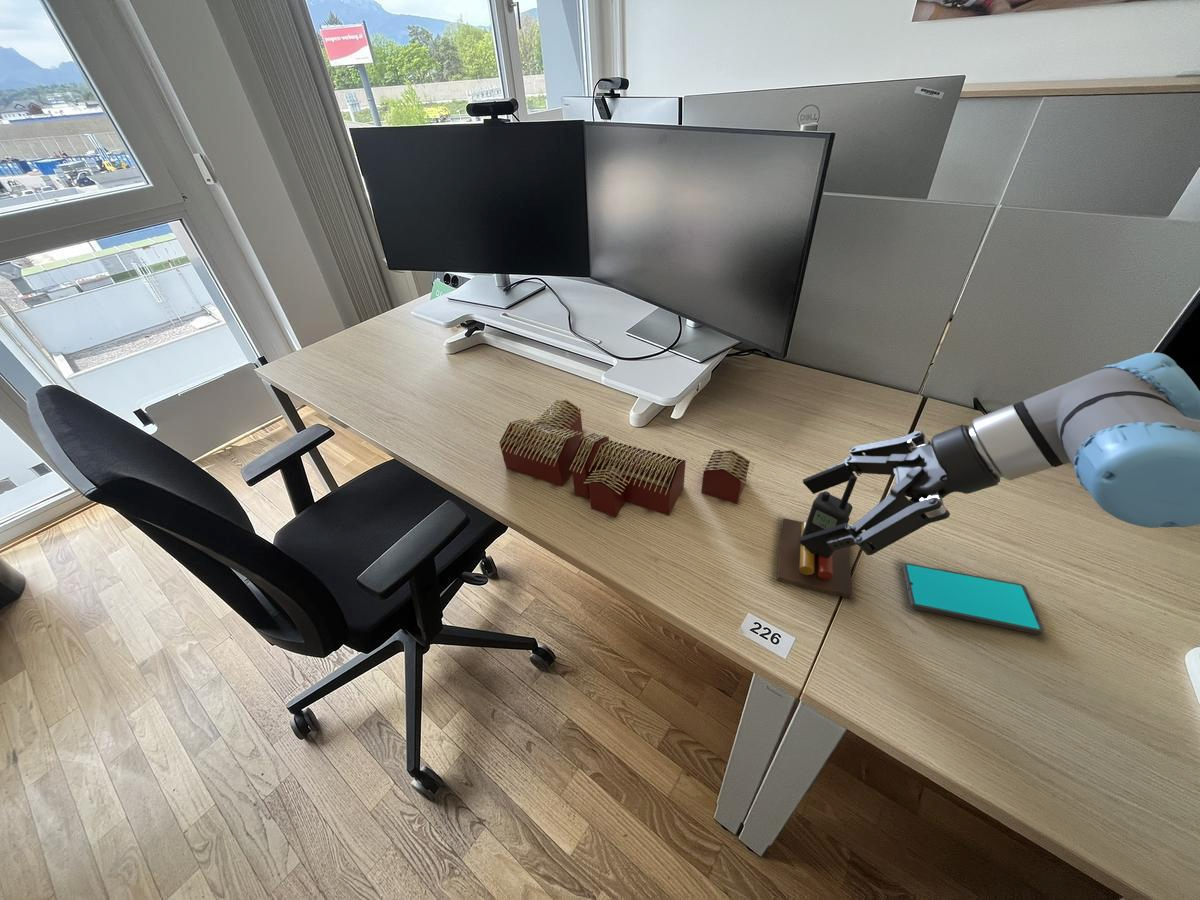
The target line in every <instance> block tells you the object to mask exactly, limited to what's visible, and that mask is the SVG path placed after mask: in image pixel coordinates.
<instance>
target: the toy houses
mask: <svg viewBox="0 0 1200 900" xmlns="http://www.w3.org/2000/svg"><path fill="white" fill-rule="evenodd" d="M549 403H550V404H547V406H545V409H542V411H541V412H540V414H537V416H536V417H534V418H535V419H533V418H531V419H530V418H529V417H528V418H525V419H524V418H521V419H518V420H514V421H510V422H509V424H508V426H507V428H506V429H505V431H504V433H503V435H502V437H501V439H500V441H499V446H498V448H497V450H500V451H501V455H502V458H503V462H504V465H505V469H506V470H510V471H512V472H515V473H519V474H521V475H525V476H527V477H531V478H534V479H537V480H539V481H542V482H545V483H549V484H552V485H556V486H558V487H561V488H563V487H564V486H565V485H566V483H567V482H568V481H569V479H570V478H571V477H572V482H573V490H574V495H575V496H576V497H579V498H582V499H585V500H589V504H590V510H592V511H593V510H594V511H596V512H599V513H602V514H605V515H608V516H611V517H614V518H616V517H617V516H618V514H619V513H620V511H621V510H622V508H623V506H624V504H625V503H628V504H630V505H634V506H637V507H640V508H644V509H646V510H649V511H652V512H656V513H659V514H661V515H665V516H668V517H669V516H670V514H671V513H672V511H673V509H674V508H675V505H676V503H677V501H678V499H679V497H680V496H681V493H682V492H683V489H684V487H685V478H686V477H685V475H686V474H685V473H686V463H687V461H686V457H684V458H683V459H681V456H679V457H676V454H674V455H673V456H670V455H671V453H669V454H667V455H666V451H665V452H664V453H661V452H662V451H661V450H659V451H658V452H655V451H657V450H656V449H654V450H652V448H649V449H647V446H645V447H644V448H642V445H640V446H639V447H637V446H638V445H637V444H635V445H633V443H630V444H628V441H627V442H624V441H623V440H622V441H619V439H616V440H615V441H613V440H614V439H615V438H611V439H610V435H611V434H608V435H607V433H604V432H600V431H598V432H596V433H595V432H593V433H591V434H589V435H586V436H584V437H582V434H583V433H584V431H583V422H582V413H581V412H585V411H584V410H583V409H581V407H578V405H576V404H574V403H572V402H571V401H569V400H568V399H567V398H565V399H561V400H555V401H551V402H549ZM618 441H619V442H618ZM623 442H624V443H623ZM548 453H549V454H548ZM547 454H548V455H547ZM552 454H553V455H552ZM551 456H552V457H551ZM556 456H557V457H556ZM555 457H556V459H555ZM703 459H704V460H702V463H701V464H700V467H699V469H697V472H703V474H702V482H701V492H700V493H701V494H702V495H707V496H710V497H713V498H716V499H720V500H723V501H726V502H730V503H734V504H739V501H740V498H741V495H742V492H743V490H744V487H745V485H746V486H748V485H749V483H747V482H750V480H749V479H751V476H752V475H753V474H752V473H751V472H754V470H752V469H755V467H754V466H756V464H755V463H753V462H752V461H751V459H747V458H746V457H745V456H743V455H742V454H740V453H738V452H737V451H735V450H734V449H724V450H721V449H714V450H713V451H707V452H706V454H705V457H704V458H703ZM750 464H752V465H753V466H752V465H750ZM749 467H750V468H749ZM751 468H752V469H751ZM620 470H621V471H620ZM614 471H615V472H614ZM749 471H750V472H749ZM624 472H626V473H625V474H623V473H624ZM618 473H620V475H619V474H618ZM629 473H631V475H629ZM748 474H749V475H751V476H749V475H748ZM634 475H636V476H634ZM633 476H634V477H633ZM639 476H642V477H641V478H639ZM644 478H647V479H646V480H643V479H644ZM747 478H748V479H747ZM649 479H652V481H651V482H650V481H649ZM655 481H657V483H654V482H655ZM660 482H662V485H660V484H659V483H660ZM665 484H668V487H667V486H665Z"/></svg>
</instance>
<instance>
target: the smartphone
mask: <svg viewBox="0 0 1200 900" xmlns="http://www.w3.org/2000/svg"><path fill="white" fill-rule="evenodd" d="M902 571H903V575H904V576H903V577H904V581H905V585H906V590H907V595H908V599H909V605H910V607H911V608H912V609H914V610H919V611H923V612H928V613H933V614H939V615H943V616H948V617H953V618H958V619H961V620H966V621H967V620H968V621H972V622H976V623H981V624H985V625H992V626H996V627H1001V628H1005V629H1009V630H1010V629H1011V630H1015V631H1020V632H1025V633H1030V634H1035V635H1042V634H1043V633H1044V632H1045V628H1044V626H1043V623H1042V621H1041V619H1040V617H1039V614H1038V612H1037V610H1036V607H1035V605H1034V603H1033V600H1032V598H1031V597H1030V593H1029V591H1028V589H1027V586H1025V585H1024V584H1023V583H1022V584H1021V583H1016V582H1011V581H1005V580H1000V579H995V578H989V577H984V576H978V575H973V574H967V573H962V572H956V571H952V570H946V569H940V568H935V567H929V566H924V565H919V564H914V563H908V562H905V563H904V564H903V565H902Z"/></svg>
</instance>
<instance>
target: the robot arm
mask: <svg viewBox="0 0 1200 900" xmlns="http://www.w3.org/2000/svg"><path fill="white" fill-rule="evenodd" d="M848 452H849V453H850V454H849V455H848V456H847V457H846V458H845V460H844V461H841V462H839V463H837V464H834V465H832V466H829V467H827V468H826V469H825V470H822V471H820V472H818V473H815V474H813V475H810V476H808V477H806V478H803V479H802V483H803V485H804V486H805V487H806V488H807V489H808V490H809V491H810V492H811V494H813V495H815V494H817V493H818V494H819V493H821V492H824V491H826V490H828V489H830V488H833V487H836V486H839V485H841V484H843V483H844V484H845V483H846V482H847V483H848V482H849V479H850V477H851V476H852V475H855V476H856V475H857V477H860V476H862V474H867V475H885V476H895V479H894V480H895V481H894V482H895V485H894V486H893V487H891V488H890V490H889V491H890V492H889V494H888V495H887V496H886V497H884V499H882V500H881V501H880V502H878V503H877V505H875V506H874V507H873V508H871V509H870V510H869V511H868V512H866V513H865V514H864V515H863V516H862V517H861V518H859V519H858V520H857V521H856V522H855V523H853V524H852V525H850V524H849V522H848V523H844V524H840V525H837V526H834V527H831V528H828V529H825V530H821V531H818V532H815V533H812V534H809V535H806V536H802V537H800V542H801V543H802V544H803V545H804V546H805V548H806V549H807V550H808V551H809V552H810V553H811V554H813V553H816V552H820V551H823V550H827V549H830V548H832V549H833V550H838V549H840V548H845V547H849V546H850V547H852V546H858V547H859V548H860V549H861V550H862V552H863V553H864V554H865V555H866V556H872V555H875V554H876V553H878V552H880V551H881V550H884V549H885V548H887V547H889V546H891V545H892V544H894V543H896V542H897V541H900V540H902V539H903V538H906V537H907V536H909V535H911V534H912V533H914V532H916V531H917V530H919V529H922V528H923V527H925V526H927V525H929V524H933V523H935V522H936V523H937V522H940V521H944V520H946V519H948V518H949V517H950V516H951V513H950V511H949V510H948V509H947V507H946V506H945V503H944V500H943V499H945V497H947V496H948V495H950V494H953V493H961V494H963V495H964V494H965V495H968V494H969V495H970V494H972V493H976V492H979V491H982V490H985V489H989V488H992V487H995V486H999V483H1000V482H1001V478H1004V479H1005V480H1007V481H1013V480H1018V479H1020V478H1023V477H1026V476H1031V475H1033V474H1036V473H1040V472H1043V471H1046V470H1047V471H1048V470H1051V469H1052V468H1057V467H1060V466H1063V465H1066V464H1071V465H1072V467H1073V469H1074V471H1075V472H1074V473H1075V477H1076V478H1077V480H1078V482H1079V484H1080V486H1081V487H1083V489H1084V491H1086V492H1088V494H1090V496H1091V498H1092V499H1093V500H1094V501H1095V503H1096V504H1097V505H1098V506H1099V507H1100V509H1102V510H1103V511H1104V512H1106V513H1107V514H1109V515H1110V516H1111V517H1113V518H1115V519H1117V520H1120V521H1122V522H1124V523H1127V524H1131V525H1134V526H1137V527H1143V528H1147V529H1149V528H1150V529H1158V528H1187V527H1194V526H1197V525H1200V389H1199V387H1198V386H1197V385H1196V384H1195V382H1194V381H1193V380H1192V378H1191V377H1190V375H1188V374H1187V373H1186V371H1185V370H1184V369H1183V368H1181V367H1180V366H1179V365H1178V364H1177V362H1176V361H1175V360H1174V359H1173V358H1171V357H1170V356H1169V355H1167V354H1165V353H1161V352H1146V353H1142V354H1140V355H1137V356H1134V357H1131V358H1128V359H1126V360H1122V361H1119V362H1117V363H1113V364H1112V363H1111V364H1107V365H1105V366H1102V367H1100V368H1098V369H1097V370H1095V371H1092V372H1090V373H1088V374H1086V375H1083V376H1080V377H1078V378H1076V379H1074V380H1071V381H1068V382H1065V383H1063V384H1061V385H1058V386H1056V387H1054V388H1051V389H1049V390H1046V391H1044V392H1041V393H1039V394H1036V395H1033V396H1031V397H1029V398H1026V399H1023V400H1022V401H1018V402H1016V403H1013V404H1010V405H1007V406H1004V407H1002V408H999V409H997V410H994V411H991V412H989V413H986V414H984V415H980V416H978V417H976V418H973V419H972V421H971V426H969V425H966V424H960V425H957V426H955V427H951V428H950V429H947V430H944V431H942V432H940V433H936V434H934V435H933V436H932V437H931V441H930V440H929V438H927V436H926V435H925V434H924V432H923V431H922V430H915V431H913V432H911V433H909V434H906V435H903V436H900V437H894V438H890V439H884V440H880V441H875V442H868V443H864V444H859V445H854V446H852V447H850V448H849V450H848ZM909 498H910V499H909Z"/></svg>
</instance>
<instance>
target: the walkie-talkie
mask: <svg viewBox="0 0 1200 900" xmlns="http://www.w3.org/2000/svg"><path fill="white" fill-rule="evenodd" d="M857 480H858V476H856V474H855V475H852V476H851V477H850V479H849V481H847V483H846V486H845V489H844V492H843V494H842V497H841V498H839V497H837V496H834V495H833V494H831V493H830V492H829V491H826V490H824V491H820V492H818V495H817V496H816V497H815V498H814V500H813V502H812V505H811V507H810V510H809V513H808V517H807V520H806V521H805V522H806V525H805V528H804V531H803V534H802V536H806V535H809V534H812V533H815V532H818V531H821V530H825V529H828V528H831V527H834V526H837V525H840V524H844V523H848V524H849V521H850V519H851V518H850V516H851V514H852V511H853V505H852V504H851V503H850V502H849V499H850V497H851V495H852V493H853V490H854V488H855V485H856V483H857ZM800 543H801V542H800ZM801 545H803V544H802V543H801ZM803 546H804V545H803ZM804 547H805V546H804ZM833 552H834V550H833V549H832V548H830V549H827V550H823V551H820V552H816V553H817V554H819V555H821V556H823V557H826V558H829V557H830V556H831V555H832V553H833Z"/></svg>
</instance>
